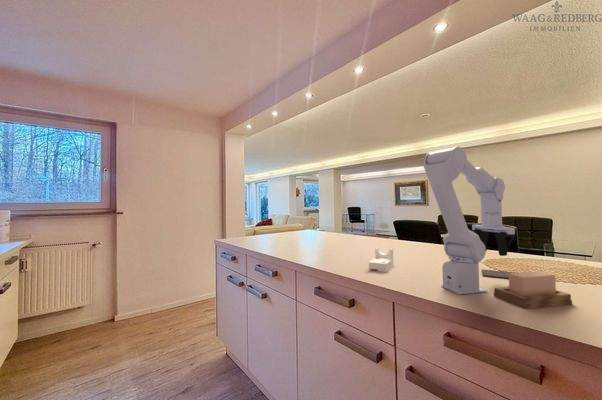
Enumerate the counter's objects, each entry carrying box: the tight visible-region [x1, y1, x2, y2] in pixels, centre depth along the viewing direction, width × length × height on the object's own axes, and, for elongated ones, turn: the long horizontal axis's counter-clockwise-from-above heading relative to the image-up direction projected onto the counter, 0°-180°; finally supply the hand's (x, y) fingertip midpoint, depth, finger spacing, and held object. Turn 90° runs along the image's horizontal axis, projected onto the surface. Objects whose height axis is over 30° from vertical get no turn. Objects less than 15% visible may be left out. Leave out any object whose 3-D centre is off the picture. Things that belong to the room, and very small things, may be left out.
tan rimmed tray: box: [493, 286, 573, 310], centre depth 70 cm, size 14×9×2 cm, turn 98°
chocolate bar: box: [481, 268, 516, 280], centre depth 92 cm, size 9×1×18 cm
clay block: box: [508, 270, 557, 296], centre depth 70 cm, size 10×4×6 cm, turn 98°
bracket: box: [368, 247, 395, 273], centre depth 109 cm, size 13×7×8 cm, turn 149°
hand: (492, 253), depth 87 cm, fingers open, 7 cm apart
